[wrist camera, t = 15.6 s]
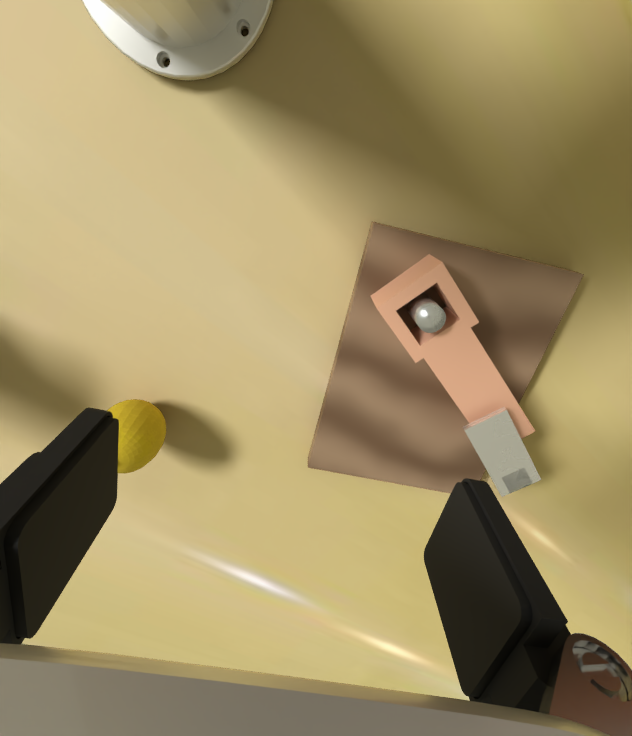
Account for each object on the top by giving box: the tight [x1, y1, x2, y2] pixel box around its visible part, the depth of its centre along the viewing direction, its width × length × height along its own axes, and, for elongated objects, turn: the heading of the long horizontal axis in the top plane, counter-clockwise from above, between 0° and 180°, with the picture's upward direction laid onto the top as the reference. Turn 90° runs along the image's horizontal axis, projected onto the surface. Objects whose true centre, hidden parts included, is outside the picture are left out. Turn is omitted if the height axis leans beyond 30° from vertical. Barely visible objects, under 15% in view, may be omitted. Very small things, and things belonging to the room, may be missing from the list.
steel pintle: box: [404, 292, 446, 333], centre depth 30 cm, size 2×2×4 cm
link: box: [371, 254, 535, 439], centre depth 32 cm, size 17×5×4 cm, turn 37°
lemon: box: [107, 399, 166, 473], centre depth 34 cm, size 6×6×8 cm
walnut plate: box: [308, 222, 584, 493], centre depth 36 cm, size 23×17×2 cm
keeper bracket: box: [463, 407, 541, 497], centre depth 35 cm, size 8×4×6 cm, turn 32°
